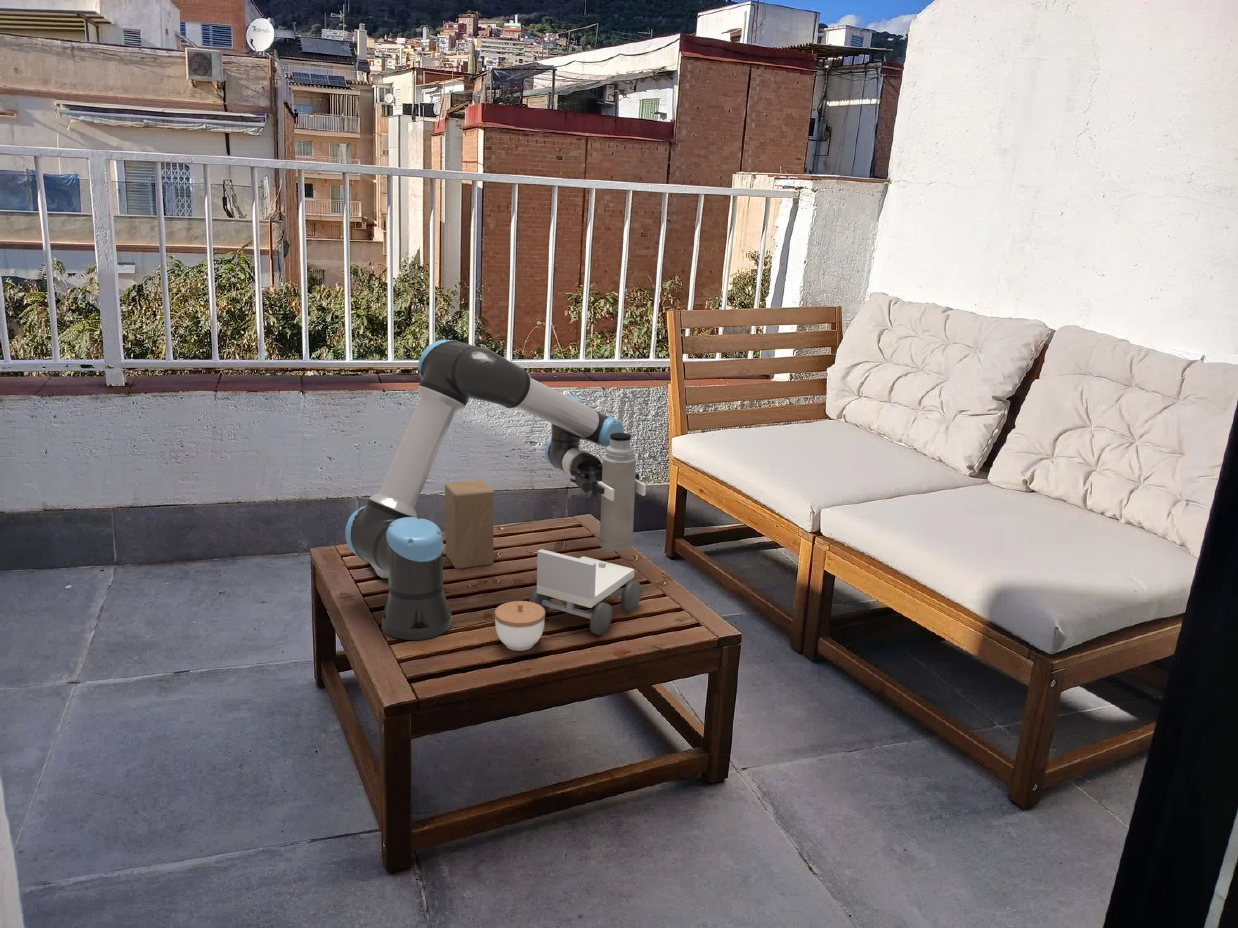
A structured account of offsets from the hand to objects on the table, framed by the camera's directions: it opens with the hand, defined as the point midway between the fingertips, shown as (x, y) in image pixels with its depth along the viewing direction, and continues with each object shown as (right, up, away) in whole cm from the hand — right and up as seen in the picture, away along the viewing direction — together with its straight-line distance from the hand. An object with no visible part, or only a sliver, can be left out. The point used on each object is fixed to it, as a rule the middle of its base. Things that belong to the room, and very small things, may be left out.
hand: (628, 492), depth 230 cm
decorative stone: (-59, -20, +15) cm, 64 cm away
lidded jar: (-24, -32, -20) cm, 45 cm away
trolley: (-10, -28, -5) cm, 30 cm away
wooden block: (-41, -18, +22) cm, 50 cm away
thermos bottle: (-3, -13, +8) cm, 16 cm away
